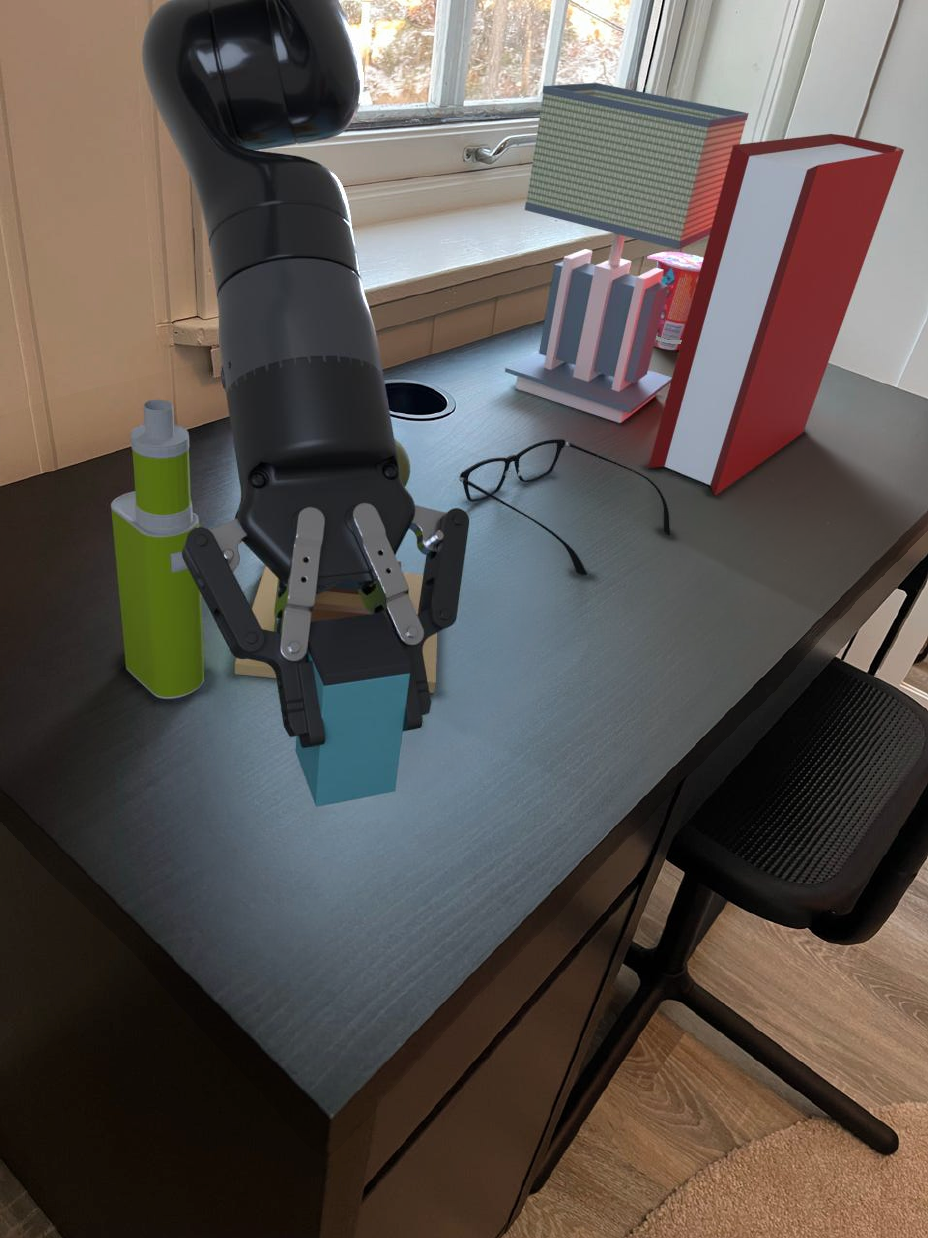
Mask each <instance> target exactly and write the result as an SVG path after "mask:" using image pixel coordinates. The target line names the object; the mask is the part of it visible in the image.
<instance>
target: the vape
mask: <svg viewBox="0 0 928 1238" xmlns="http://www.w3.org/2000/svg"><path fill="white" fill-rule="evenodd" d="M142 406H143V421H144V423H142V424H140V425H136V427H134V428H133V429H132V430H131V431H130V434H129V435H130V446H131V449H132V450H131V451H132V463H133V464H132V465H133V477H134V491H130V492H126V493H124V494H121V495H119V496H117V497H116V498H115V499H113V500H112V502H111V503H110V509H111V521H112V530H113V531H112V532H113V543H114V552H115V563H116V575H117V585H118V597H119V607H120V616H121V628H122V629H121V630H122V638H123V648H124V649H123V650H124V662H125V670H127V671H128V673H130V674H131V675H132V676H133V677H134V678H135V679H136V680H137V681H138V682H139V683H140V684H141V685H143V686H144V687H145V689H147V690H148V691H149V692H150V693H151V694H152V695H153V696H155V698H156V697H157V698H158V699H165V700H173V699H179V698H182V697H186V696H188V695H190V694H192V693H194V692H195V691H197V690H199V689H200V688H201V687H202V685H203V684H204V682H205V665H204V664H205V663H204V661H205V660H204V639H203V638H204V637H203V636H204V635H203V631H204V630H203V603H202V595H201V593H200V591H199V589H198V587H197V585H196V583H195V581H194V579H193V577H192V575H191V573H190V571H189V569H188V568H187V566H186V564H185V562H184V560H183V557H182V550H183V547H184V544H185V541H186V539H187V536H188V534H189V533H190V531H192V530H193V529H195V528H200V518H199V516H198V514H197V513H195V512H194V511H193V502H192V496H191V495H192V494H191V493H192V492H191V469H190V467H191V466H190V435H189V431H188V430H187V429H186V428H185V427H183V426H180V425H179V424H175V419H174V418H175V416H174V404H173V403H172V402H171V401H168V400H165V399H159V398H158V399H157V398H156V399H149V400H146V401H145V402H143V404H142Z"/></svg>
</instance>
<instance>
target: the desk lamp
mask: <svg viewBox="0 0 928 1238" xmlns="http://www.w3.org/2000/svg"><path fill="white" fill-rule="evenodd" d="M749 115H750V113H749V112H744V111H739V110H735V109H730V108H729V109H728V108H725V107H719V106H714V105H709V104H704V103H699V102H694V101H689V100H684V99H679V98H673V97H669V96H663V95H659V94H654V93H650V92H645V91H638V90H635V89H629V88H624V87H618V86H613V85H609V84H603V83H598V82H585V83H583V82H582V83H570V84H569V83H568V84H566V83H565V84H552V85H543V87H542V99H541V105H540V113H539V117H538V118H539V119H538V125H537V131H536V138H535V145H534V150H533V157H532V165H531V170H530V171H531V172H530V177H529V184H528V191H527V196H526V201H525V205H524V211H526V212H531V213H534V214H537V215H543V216H545V217H546V216H547V217H550V218H553V219H557V220H561V221H566V222H569V223H574V224H577V225H581V226H585V227H589V228H593V229H595V230H596V229H597V230H599V231H605V232H607V233H613V236H612V242H611V246H610V250H609V255H608V259H607V260H605V261H603V262H600V263H598V264H596V265H595V264H591V261H592V256H593V250H591V249H587V248H584V249H582V250H579V251H577V252H574V253H571V254H569V255H566V256H563V260H562V261H560V262H557V263H555V264H554V265H553V271H552V277H551V282H550V288H549V294H548V299H547V305H546V311H545V318H544V321H543V328H542V333H541V339H540V345H539V349H538V350H536V351H535V352H533V353H531V354H529V355H527V356H525V357H523V358H521V359H519V360H518V361H516V362H513V363H512V364H510V365H508V366H506V367H505V368H504V373H507V374H510V375H513V376H516V384H515V389H517V390H519V391H522V392H525V393H528V394H532V395H534V396H536V397H537V396H538V397H541V398H543V399H547V400H549V401H552V402H554V403H555V402H556V403H558V404H562V405H564V406H568V407H569V408H574V409H576V410H578V411H579V410H580V411H583V412H586V413H588V414H591V415H595V416H598V417H601V418H604V419H607V420H609V421H613V422H616V423H618V424H621V423H623V422H624V421H626V419H628V418H629V417H631V416H632V415H633V414H634V413H636V412H637V411H638V410H640V409H641V408H642V407H643V406H644V405H646V404H648V403H649V402H650V401H651V400H652V399H654V398H655V397H656V396H657V394H658V393H659V392H661V391H662V390H663V389H664V388H666V387H667V386H668V385H670V383H671V380H672V376H668V375H665V374H661V373H658V372H655V371H652V370H649V368H650V363H651V359H652V355H653V352H654V348H655V346H654V344H655V339H656V335H657V331H658V327H659V323H660V319H661V315H662V311H663V307H664V303H665V299H666V294H667V290H668V286H669V285H666V284H662V283H661V279H662V275H663V271H664V270H662V269H659V268H657V267H654V268H652V269H650V270H648V271H645V272H644V273H642V274H640V275H637V276H635V275H632V274H630V271H631V265H632V260H628V259H624V258H622V254H623V250H624V245H625V240H626V237H628V238H632V239H636V240H639V241H643V242H647V243H652V244H655V245H658V246H662V247H667V248H670V249H674V250H678V251H679V250H682V249H683V248H685V247H687V246H690V245H692V244H695V243H696V242H698V241H700V240H702V239H704V238H707V237H709V235H710V232H711V228H712V224H713V220H714V216H715V213H716V209H717V205H718V201H719V197H720V194H721V190H722V186H723V182H724V178H725V175H726V171H727V167H728V163H729V159H730V156H731V152H732V148H733V145H737V144H741V142H742V137H743V133H744V130H745V126H746V123H747V121H748V117H749Z"/></svg>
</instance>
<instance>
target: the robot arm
mask: <svg viewBox="0 0 928 1238" xmlns="http://www.w3.org/2000/svg"><path fill="white" fill-rule="evenodd" d="M141 58H142V60H141V61H142V66H143V67H142V68H143V72H144V77H145V80H146V83H147V87H148V89H149V92H150V95H151V97H152V100H153V103H154V105H155V106H156V109H157V111H158V113H159V115H160V117H161V120H162V121H163V123H164V125H165V127H166V130H167V131H168V134H169V135H170V138H171V140H172V141H173V143H174V145H175V147H176V150H177V152H178V153H179V155H180V157H181V159H182V161H183V164H184V167H185V169H186V171H187V173H188V175H189V178H190V180H191V183H192V185H193V188H194V191H195V194H196V197H197V201H198V203H199V207H200V210H201V214H202V217H203V221H204V225H205V230H206V236H207V242H208V247H209V254H210V255H209V256H210V262H211V269H212V274H213V281H214V287H215V288H214V289H215V293H216V299H217V300H216V301H217V310H218V314H217V315H218V348H219V356H220V363H221V367H220V378H221V384H222V388H223V389H224V393H225V396H226V401H227V408H228V416H229V422H230V427H231V428H230V429H231V434H232V441H233V448H234V454H235V460H236V461H235V462H236V467H237V475H238V481H239V489H240V500H239V501H240V502H239V505H238V508H237V510H236V513H235V516H234V519H232V520H229V521H227V522H225V523H223V524H220V525H218V526H215V527H213V528H210V529H208V528H205V527H200V526H199V528H195V529H193V530H192V531H190V533H189V534H188V536H187V539H186V541H185V544H184V547H183V550H182V557H183V560H184V562H185V564H186V566H187V568H188V569H189V571H190V573H191V575H192V577H193V579H194V581H195V583H196V585H197V587H198V589H199V591H200V593H201V598H203V601H204V602H205V605H206V606H207V608H208V610H209V612H210V614H211V615H212V618H213V620H214V622H215V623H216V626H217V627H218V630H219V631H220V633H221V635H222V638H223V639H224V641H225V643H226V645H227V647H228V649H229V651H230V652H231V654H232V655H233V656H234V657H235V659H236V658H239V659H251V660H256V661H261V662H264V663H267V664H268V665H270V666H271V667H272V668H273V670H274V671H275V674H276V678H275V679H276V685H277V686H276V687H277V692H278V699H279V704H280V711H281V718H282V725H283V728H284V730H285V732H286V733H287V735H288V737H289V738H293V737H296V736H299V740H300V744H301V747H302V748H308V747H314V746H319V745H323V744H324V743H325V733H324V726H323V720H322V717H321V713H320V706H319V700H318V694H317V687H316V681H315V675H314V668H313V661H310V662H307V657H306V653H307V649H308V640H309V631H310V622H311V614H312V610H313V607H314V603H315V596H316V594H319V593H321V592H324V591H326V590H329V589H332V588H336V589H343V590H349V591H350V590H358V592H359V594H360V597H361V599H362V601H363V603H364V606H365V608H366V609H367V610H368V611H369V612H370V613H371V614H378V613H384V615H385V617H386V619H387V621H388V622H389V624H390V626H391V628H392V629H393V631H394V633H395V635H396V637H397V638H398V640H399V642H400V644H401V645H402V647H403V649H404V651H405V653H406V654H407V656H408V658H409V660H410V662H411V671H410V678H409V686H408V694H407V702H406V708H405V716H404V724H403V732H409V731H415V730H418V729H421V728H422V727H423V724H424V723H423V716H425V715H428V714H430V711H431V705H432V699H431V693H430V692H429V686H428V682H427V675H426V669H425V663H424V657H423V645H424V642H425V641H426V640H427V639H428V638H429V637H430V636H432V635H434V634H435V633H437V634H438V633H440V632H441V631H443V630H445V629H448V628H450V627H452V626H454V624H456V621H457V617H458V610H459V604H460V603H459V602H460V596H461V588H462V580H463V572H464V565H465V558H466V551H467V550H466V549H467V542H468V535H469V528H470V526H469V525H470V518H469V515H468V513H467V512H466V511H465V510H464V509H463V508H459V507H454V508H451V509H450V510H448V511H447V512H443V511H439V510H437V509H432V508H427V507H425V506H424V507H423V506H420V505H417V504H415V501H414V499H413V497H412V495H411V494H410V493H409V491H408V490H407V488H406V486H405V487H404V485H403V483H402V481H401V479H400V475H399V467H398V457H397V451H396V446H395V440H394V439H395V435H394V429H393V428H394V427H393V424H392V417H391V412H390V406H389V400H388V399H389V398H388V395H387V390H386V383H385V377H384V371H383V365H382V359H381V354H380V348H379V342H378V337H377V332H376V327H375V322H374V319H373V316H372V313H371V310H370V307H369V303H368V301H367V298H366V294H365V290H364V285H363V280H362V279H363V278H362V275H361V268H360V264H359V262H360V261H359V255H358V252H357V251H358V250H357V246H356V239H355V234H354V229H353V222H352V216H351V212H350V206H349V202H348V198H347V195H346V192H345V189H344V187H343V185H342V183H341V182H340V180H339V179H338V177H337V176H336V174H334V173H333V171H332V170H331V169H329V168H328V167H327V166H325V165H323V164H321V163H320V162H319V161H316V160H313V159H311V158H306V157H304V156H300V155H293V154H288V153H287V154H286V153H281V152H280V153H279V152H271V151H263V150H269V149H276V148H277V149H278V148H282V147H288V146H294V145H303V144H310V143H316V142H320V141H321V142H322V141H326V140H329V139H333V138H335V137H338V136H340V135H341V134H343V133H344V132H345V131H346V130H347V129H348V128H349V126H350V125H351V124H352V123H353V121H354V119H355V118H356V115H357V114H358V111H359V108H360V105H361V102H362V98H363V92H364V72H363V65H362V58H361V55H360V50H359V47H358V43H357V40H356V38H355V36H354V33H353V31H352V28H351V25H350V23H349V20H348V18H347V15H346V14H345V11H344V9H343V7H342V5H341V3H340V1H339V0H167V1H166V2H165V3H163V4H161V5H160V6H159V7H158V8H157V9H156V10H155V12H154V13H153V15H152V16H151V18H150V20H149V21H148V23H147V26H146V28H145V31H144V35H143V40H142V46H141ZM409 530H410V531H412V533H414V535H415V538H416V546H417V547H416V548H417V549H418V551H419V552H420V553H421V554H422V555H425V561H424V566H423V567H424V568H423V581H422V588H421V595H420V602H419V609H418V614H417V613H416V611H415V609H414V607H413V604H412V602H411V600H410V598H409V594H408V592H409V588H408V584H407V581H406V579H405V577H404V575H403V572H404V571H403V570H402V567H401V568H400V566H399V563H398V559H397V557H396V555H397V553H398V551H399V549H400V547H401V545H402V543H403V541H404V539H405V538H406V535H407V533H408V531H409ZM241 543H243V544H244V545H245V546H246V547H247V548H248V549H249V550H250V551H251V552H252V553H253V554H254V555H255V556H256V557H257V558H258V559H259V560H260V561H261V562H262V564H264V566H265V565H266V566H267V567H268V568H269V569H270V570H271V571H272V572H273V574H274V575H275V576H276V577H277V578H278V584H277V592H276V600H275V609H274V617H275V623H274V631H269V630H264V629H262V628H261V626H260V624H259V622H258V620H257V618H256V616H255V614H254V612H253V611H252V606H251V604H250V603H249V601H248V599H247V598H246V595H245V593H244V591H243V589H242V587H241V585H240V584H239V581H238V580H237V577H236V576H235V574H234V572H235V571H236V569H237V568H238V566H239V565H240V560H241V557H240V553H239V545H240V544H241ZM387 572H388V573H387ZM369 585H371V586H369Z"/></svg>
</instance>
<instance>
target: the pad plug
mask: <svg viewBox="0 0 928 1238" xmlns="http://www.w3.org/2000/svg"><path fill="white" fill-rule="evenodd" d="M306 657H307V662H310V661H313V668H314V675H315V681H316V687H317V694H318V700H319V706H320V713H321V717H322V720H323V726H324V733H325V743H324V744H323V745H319V746H314V747H308V748H302V747H301V744H300V740H299V736H295V755H296V756H297V760H298V762H299V765H300V768H301V770H302V773H303V776H304V778H305V782H306V783H307V785H308V786H307V787H308V790H309V791H310V794H311V797H312V800H313V802H314V805H315V807H317V808H318V807H322V806H327V805H334V804H339V803H343V802H348V801H353V800H358V799H359V800H360V799H363V798H368V797H374V796H380V795H385V794H389V793H394V792H396V787H397V780H398V771H399V763H400V757H401V748H402V740H403V733H404V731H403V724H404V716H405V708H406V702H407V694H408V686H409V678H410V671H411V662H410V660H409V658H408V656H407V654H406V653H405V651H404V649H403V647H402V645H401V644H400V642H399V640H398V638H397V637H396V635H395V633H394V631H393V629H392V628H391V626H390V624H389V622H388V621H387V619H386V617H385V615H384V613H378V614H370V615H362V616H353V617H345V618H337V619H329V620H320V621H312V622H310V631H309V640H308V649H307V653H306Z"/></svg>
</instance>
